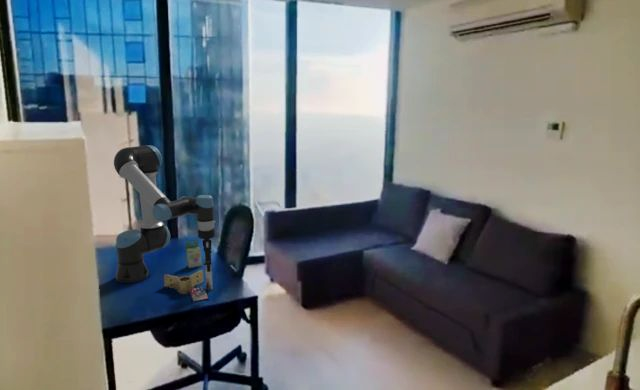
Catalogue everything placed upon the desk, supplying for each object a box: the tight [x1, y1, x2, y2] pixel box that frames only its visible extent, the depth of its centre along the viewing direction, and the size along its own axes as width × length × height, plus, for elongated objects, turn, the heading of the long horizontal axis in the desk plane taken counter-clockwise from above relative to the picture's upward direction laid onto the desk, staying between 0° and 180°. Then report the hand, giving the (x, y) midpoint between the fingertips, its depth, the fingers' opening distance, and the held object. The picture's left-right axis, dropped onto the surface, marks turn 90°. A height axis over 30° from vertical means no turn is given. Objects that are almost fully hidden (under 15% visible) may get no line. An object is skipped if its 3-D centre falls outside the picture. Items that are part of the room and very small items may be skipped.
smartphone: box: [188, 285, 210, 303], centre depth 209 cm, size 8×1×15 cm
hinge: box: [163, 269, 204, 295], centre depth 217 cm, size 15×16×6 cm
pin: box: [204, 261, 214, 291], centre depth 212 cm, size 3×3×15 cm
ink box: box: [185, 240, 203, 269], centre depth 240 cm, size 7×4×13 cm, turn 120°
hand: (208, 272), depth 212 cm, fingers open, 13 cm apart
